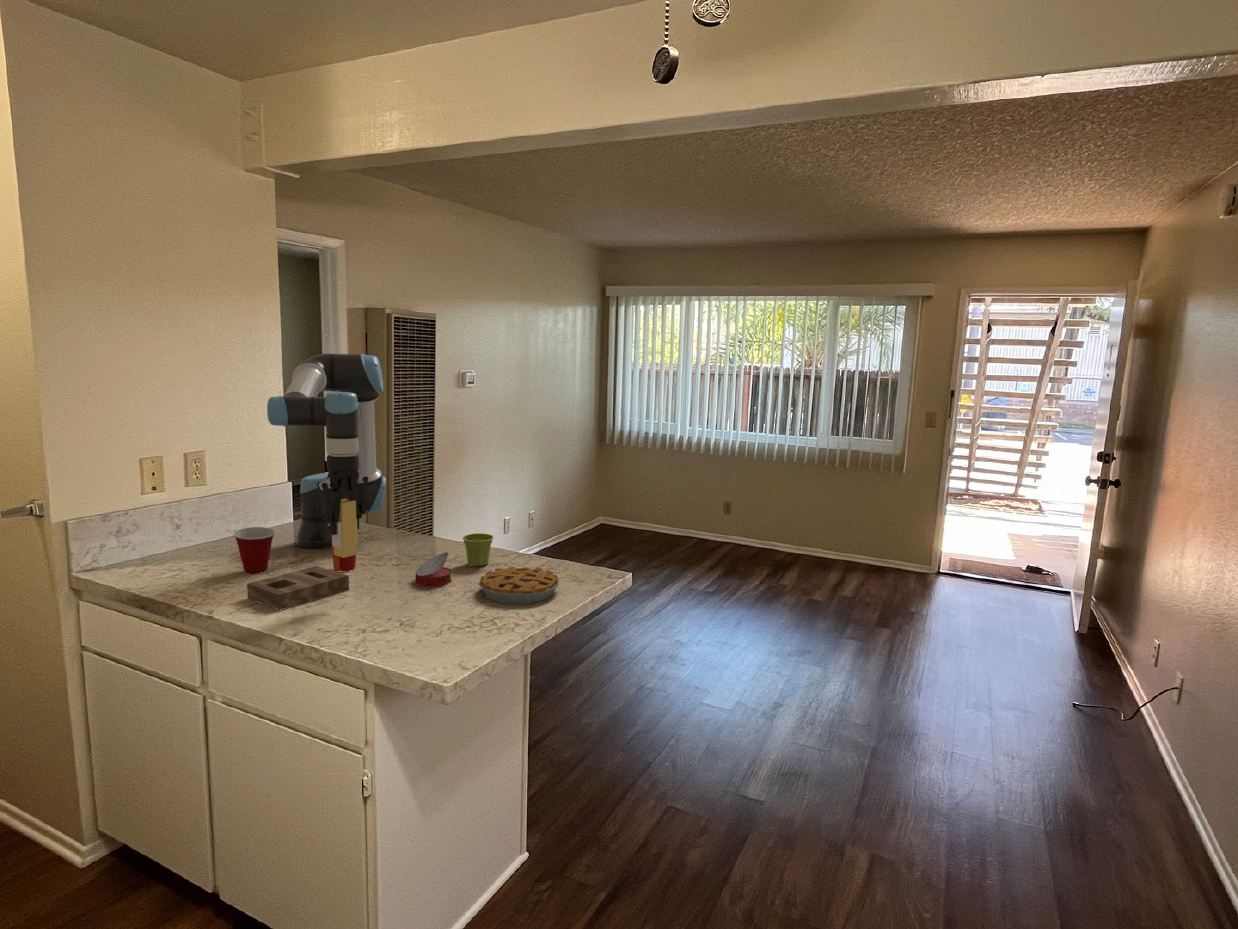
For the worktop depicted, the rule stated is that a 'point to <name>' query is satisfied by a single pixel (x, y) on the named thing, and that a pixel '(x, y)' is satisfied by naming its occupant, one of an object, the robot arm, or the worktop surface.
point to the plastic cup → (254, 547)
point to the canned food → (433, 572)
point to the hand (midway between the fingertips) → (345, 544)
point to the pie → (518, 585)
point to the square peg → (347, 529)
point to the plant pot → (478, 548)
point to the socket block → (298, 587)
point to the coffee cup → (343, 561)
